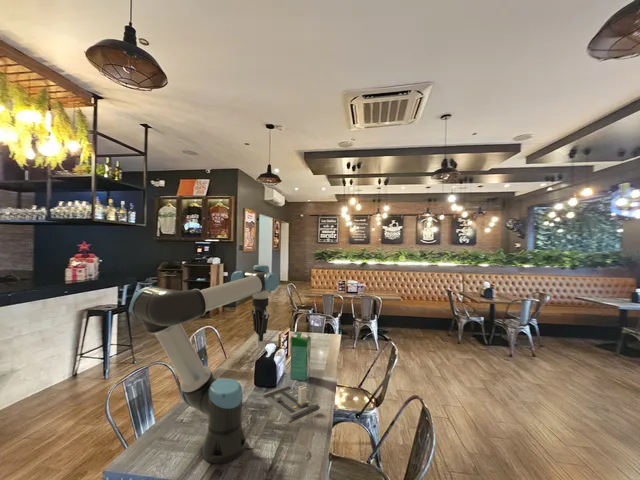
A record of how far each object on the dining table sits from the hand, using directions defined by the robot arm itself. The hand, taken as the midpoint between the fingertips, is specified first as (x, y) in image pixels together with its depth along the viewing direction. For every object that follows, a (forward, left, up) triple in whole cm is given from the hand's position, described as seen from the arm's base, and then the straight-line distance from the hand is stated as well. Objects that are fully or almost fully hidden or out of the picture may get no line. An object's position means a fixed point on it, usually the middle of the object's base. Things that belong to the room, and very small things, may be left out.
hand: (259, 347), depth 140 cm
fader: (+13, -17, -25) cm, 33 cm away
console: (+11, -10, -26) cm, 30 cm away
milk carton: (+31, +8, -27) cm, 42 cm away
